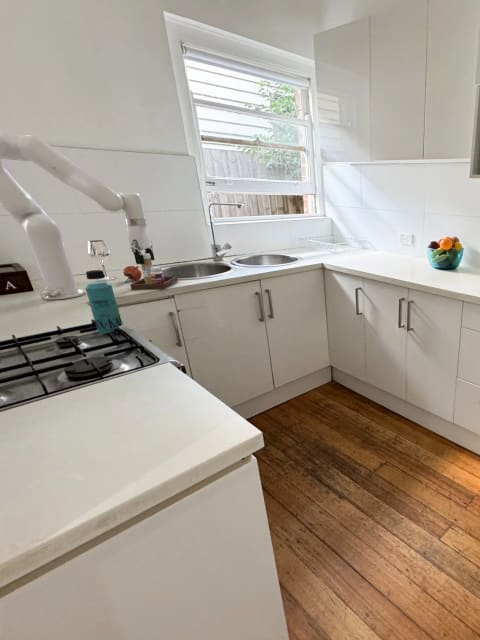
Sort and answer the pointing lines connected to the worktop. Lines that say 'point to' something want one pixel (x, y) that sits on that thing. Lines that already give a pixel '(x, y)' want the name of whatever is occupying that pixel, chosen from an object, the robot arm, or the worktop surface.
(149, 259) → the sprinkles bottle
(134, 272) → the pomegranate
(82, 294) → the robot arm
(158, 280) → the pill bottle
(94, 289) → the beverage bottle
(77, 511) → the worktop surface
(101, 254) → the wineglass
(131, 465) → the worktop surface
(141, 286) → the tray
